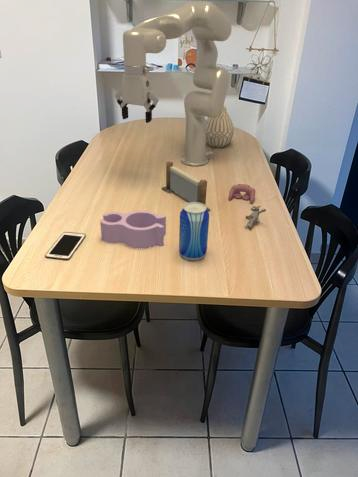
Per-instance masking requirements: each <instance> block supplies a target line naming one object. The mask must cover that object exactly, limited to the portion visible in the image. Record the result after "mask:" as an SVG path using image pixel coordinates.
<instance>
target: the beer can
mask: <svg viewBox="0 0 358 477" xmlns="http://www.w3.org/2000/svg"><path fill="white" fill-rule="evenodd" d="M207 208H208V207H207V206H206V205H204V204H202V203H199V202H190V201H189V202H188V203H185V204H184V205H183V208H182V209H181V211H180V212H179V233H178V234H179V236H178V252H179V254H180V255H181V257H182V258H183V259H185V260H187V261H199V260H201V259H203V258H204V256H206V255H207V253H208V252H207V251H208V240H209V239H208V238H209V226H210V225H209V224H210V212H208V211H207Z"/></svg>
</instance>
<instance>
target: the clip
mask: <svg viewBox="0 0 358 477" xmlns="http://www.w3.org/2000/svg"><path fill="white" fill-rule="evenodd" d="M99 224H100V233H101V234H100V235H101V240H102V241H103V242H105V243H106V244H123V245H126V246H127V247H130V248H132V249H136V248H138V249H137V250H139V248H140V250H142V249H141V248H146V249H150V248H149V247H151V248H154V247H156V246H159V245H160V246H159V247H163V246H164V242H165V240H164V236H166V235H167V233H166V232H167V231H166V230H167V216H166V214H162V215H159V214H158V213H156V212H153V211H149V210H136V211H135V210H134V211H131V212H125V213H124V212H119V211H110V212H106V213H103V214H102V219H100V221H99ZM165 234H166V235H165ZM155 245H156V246H155ZM153 246H154V247H153Z"/></svg>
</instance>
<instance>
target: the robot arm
mask: <svg viewBox="0 0 358 477" xmlns="http://www.w3.org/2000/svg"><path fill="white" fill-rule="evenodd" d="M232 27H233V26H232V23H231V20H230V19H229V17H228V16H227V15H226V14H225V13H224V12H223V11H222V10H221V9H220V8H219V7H218V6H216V5H215V4H214V3H211V2H210V1H209V2H208V1H205V2H204V1H189V2H187V3H185V4H183V5H181V6H180V7H178V8H177V9H175V10H173V11H171V12H169V13H167V14H163V15H160V16H157V17H154V18H149V19H146V20H145V21H142V22H140V23H138V24H137V25H135V26H133V27H131V29H128V30H125V31H124V32H123V33H122V47H123V51H122V52H123V69H124V72H123V74H122V79H121V90H120V91H119V92H117V93H115V94H114V98H115V100H116V102H117V104H118V105H119V107H120V109H121V116H122V120H126V119H128V118H129V108H128V107H129V106H128V105H132V106H141V107H144V108H145V110H146V111H145V113H144V114H145V123H146V124H149V123H150V122H152V119H153V110H154V109H155V108H156V107H157V105H158V102H159V98H157V97H156V96H155V95H153V94H152V88H151V81H150V76H149V75H148V73H150V68H148V67H147V54H160V53H162V52H163V51H164V50H165V48H166V47H167V40H174V39H175V40H176V39H178V38H180V37H182V36H183V35H185V34H187V33H188V32H189V31H191V32H192V35H193V37H194V39H195V42H196V45H197V46H196V47H197V57H196V61H195V65H194V69H193V70H194V71H193V74H192V83H193V85H194V86H195V87H197V88H199V89H203V90H209V91H211V92H205V91H199V90H192V91H189V92H188V93H186V95H185V96H184V99H183V106H184V113H185V135H184V137H185V138H184V139H185V140H184V155H183V156H182V157H181V159H180V162H181V163H182V164H184V165H186V166H191V167H199V166H204V165H207V164H208V161H209V159H208V156H212V155H213V154H214V152H213V150H210V151H208V150H206V146H207V145H206V144H207V142H206V130H207V123H206V120H207V118H208V117H211V118H216V117H218V116H219V115H220V114H221V112H222V109H223V105H224V106H225V100H226V98H227V97H226V96H227V93H228V88H229V83H230V74H229V71H228V69H226V68H225V67H223V66H217V62H218V56H219V54H218V52H219V51H218V48H217V45H216V43H215V42H226V41H227V40H228V39H229V38H230V37H231V34H232ZM151 103H152V104H151ZM206 117H207V118H206Z"/></svg>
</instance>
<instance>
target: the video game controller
mask: <svg viewBox="0 0 358 477" xmlns="http://www.w3.org/2000/svg"><path fill="white" fill-rule="evenodd" d="M241 192H242V193H244V194H243V196H242V193H241ZM234 196H235V198H236V199H240V198H242V197H243V199H244V200H249V203H250V204H251V205H252V204H253V203H254V201H255V197H256V189H255V188H254V187H253V186H251V185H249V184H245V183H236V184H234V185H232V186H231V187H230V190H229V193H228V200H229V201H231V200H232V199H233V197H234Z"/></svg>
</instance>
